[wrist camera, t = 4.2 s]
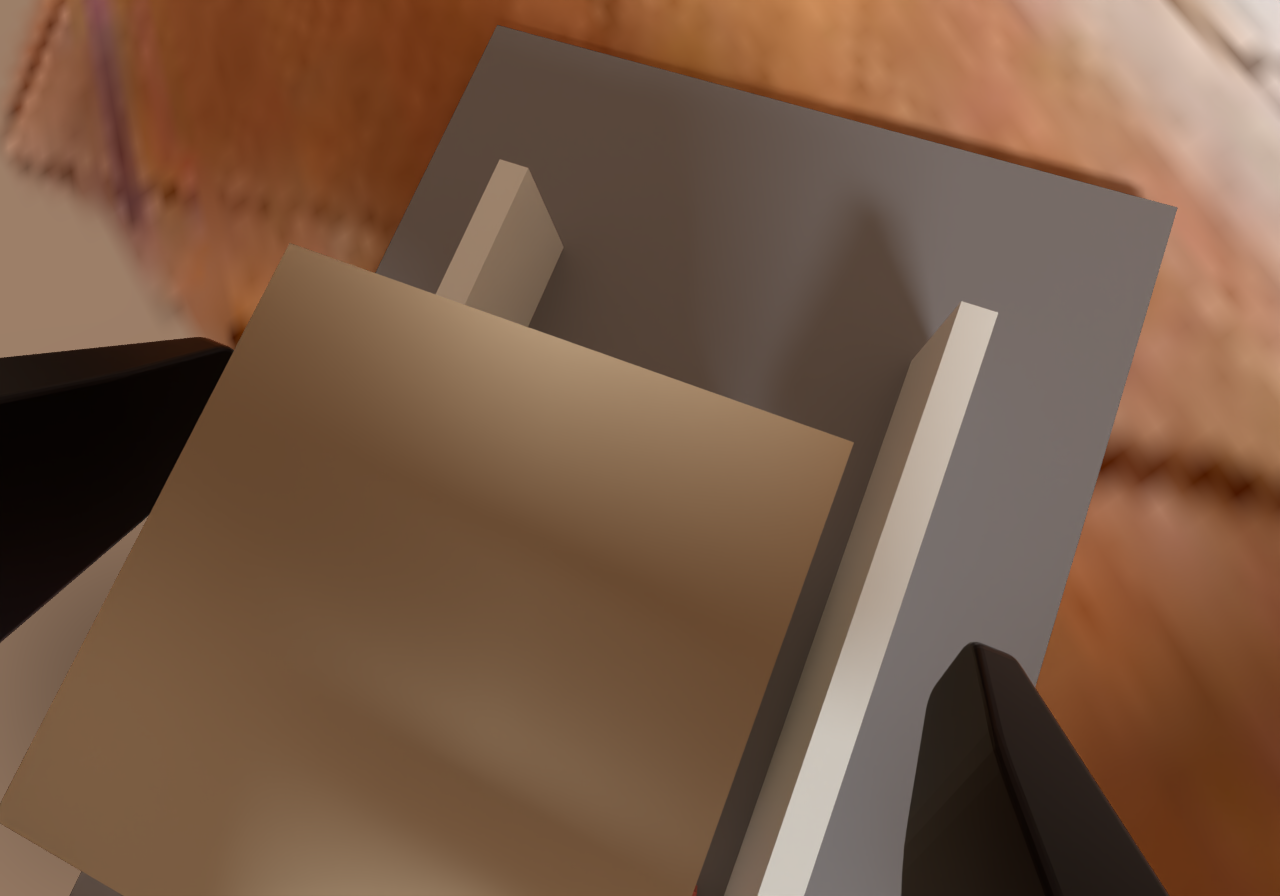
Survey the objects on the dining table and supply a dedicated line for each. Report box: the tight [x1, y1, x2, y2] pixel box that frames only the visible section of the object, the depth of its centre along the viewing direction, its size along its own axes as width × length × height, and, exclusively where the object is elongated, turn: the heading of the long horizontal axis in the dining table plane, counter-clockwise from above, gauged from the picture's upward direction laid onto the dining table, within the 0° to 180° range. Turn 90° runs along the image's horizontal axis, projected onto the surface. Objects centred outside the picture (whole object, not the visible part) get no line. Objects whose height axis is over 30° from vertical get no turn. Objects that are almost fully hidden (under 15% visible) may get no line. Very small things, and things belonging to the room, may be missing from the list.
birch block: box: [0, 243, 854, 896], centre depth 9 cm, size 5×5×9 cm
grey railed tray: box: [70, 25, 1177, 896], centre depth 13 cm, size 26×16×4 cm, turn 158°
